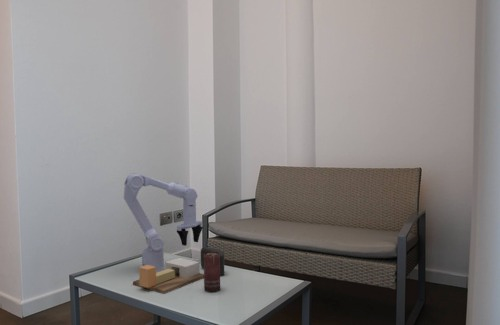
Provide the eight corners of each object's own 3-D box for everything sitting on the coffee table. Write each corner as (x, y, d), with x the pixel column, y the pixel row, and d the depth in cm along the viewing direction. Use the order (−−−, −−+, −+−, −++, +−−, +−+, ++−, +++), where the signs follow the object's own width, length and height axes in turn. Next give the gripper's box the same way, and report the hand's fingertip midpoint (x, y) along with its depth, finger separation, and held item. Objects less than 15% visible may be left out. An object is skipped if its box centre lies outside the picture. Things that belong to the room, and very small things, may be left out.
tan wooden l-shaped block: (139, 285, 156) (139, 267, 156) (167, 275, 168) (167, 258, 167) (148, 287, 153) (147, 269, 153) (175, 277, 165) (175, 260, 164)
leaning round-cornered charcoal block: (230, 274, 173) (229, 252, 173) (221, 276, 170) (221, 254, 170) (208, 266, 186) (208, 245, 185) (200, 268, 183) (199, 247, 182)
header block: (165, 273, 171) (165, 262, 171) (179, 268, 178) (179, 257, 178) (186, 278, 164) (185, 266, 164) (199, 273, 171) (199, 262, 171)
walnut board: (132, 284, 161) (132, 281, 161) (175, 269, 180) (175, 267, 180) (163, 293, 151) (163, 290, 151) (205, 277, 170) (205, 274, 169)
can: (208, 293, 151) (207, 256, 150) (201, 288, 156) (201, 252, 156) (223, 290, 153) (222, 254, 153) (216, 285, 159) (216, 250, 158)
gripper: (184, 217, 178) (185, 248, 179) (206, 212, 190) (207, 241, 191) (173, 215, 183) (173, 245, 183) (195, 211, 194) (196, 239, 195)
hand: (190, 243), depth 187 cm, fingers open, 7 cm apart
